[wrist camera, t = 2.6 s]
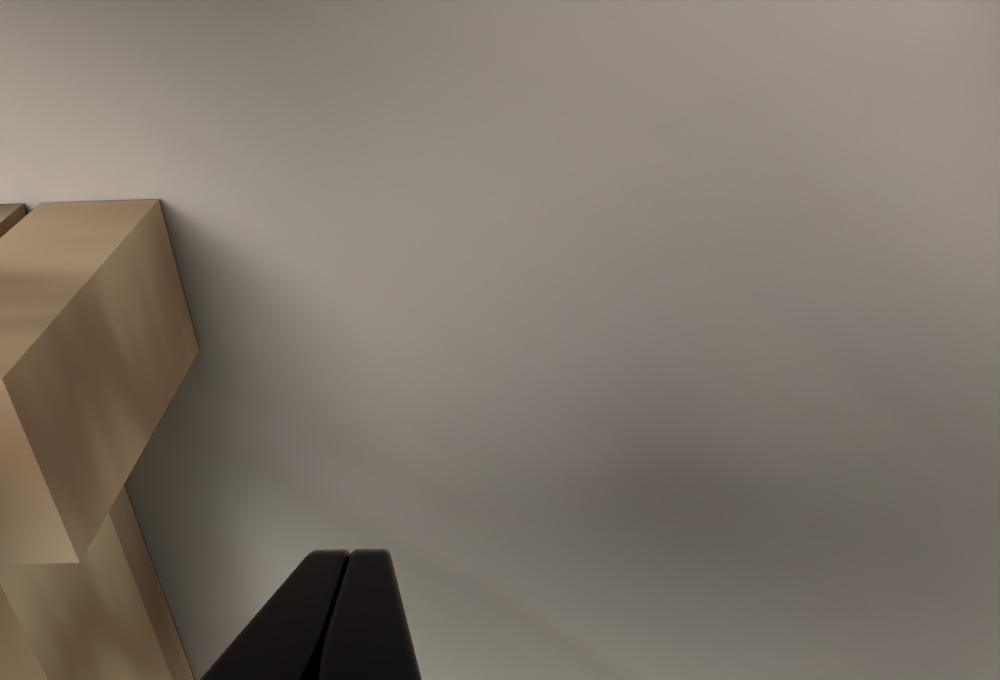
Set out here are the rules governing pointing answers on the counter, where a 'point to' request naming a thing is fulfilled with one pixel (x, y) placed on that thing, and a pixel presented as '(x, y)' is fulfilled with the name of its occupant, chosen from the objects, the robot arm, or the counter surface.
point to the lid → (16, 647)
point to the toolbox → (86, 430)
